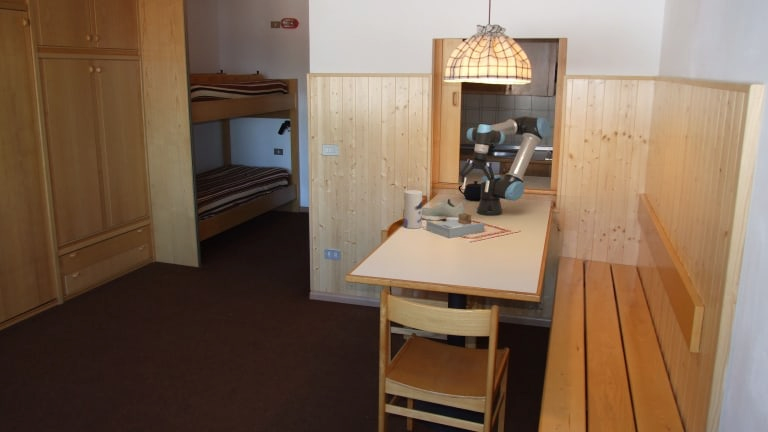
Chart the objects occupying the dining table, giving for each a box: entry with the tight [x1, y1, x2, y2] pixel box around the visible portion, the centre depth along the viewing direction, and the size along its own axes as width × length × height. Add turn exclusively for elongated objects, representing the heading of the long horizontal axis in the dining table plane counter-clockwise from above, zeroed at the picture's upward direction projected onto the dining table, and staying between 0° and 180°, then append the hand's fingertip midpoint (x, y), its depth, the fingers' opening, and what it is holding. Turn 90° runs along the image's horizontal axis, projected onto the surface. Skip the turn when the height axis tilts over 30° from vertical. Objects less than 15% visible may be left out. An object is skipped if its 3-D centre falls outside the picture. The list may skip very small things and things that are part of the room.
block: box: [458, 212, 472, 225], centre depth 365 cm, size 5×5×5 cm
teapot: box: [458, 180, 481, 202], centre depth 439 cm, size 25×16×12 cm, turn 67°
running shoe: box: [422, 197, 465, 222], centre depth 383 cm, size 11×30×14 cm, turn 63°
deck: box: [426, 220, 485, 239], centre depth 360 cm, size 24×20×5 cm
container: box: [403, 189, 423, 229], centre depth 367 cm, size 10×10×20 cm
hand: (474, 190), depth 368 cm, fingers open, 13 cm apart
